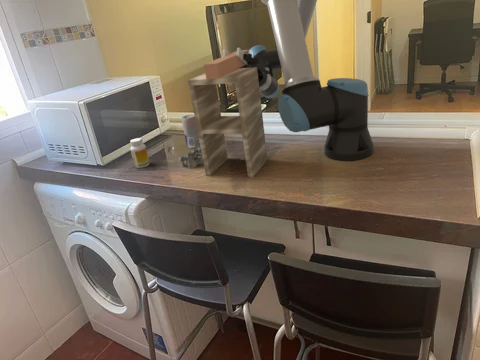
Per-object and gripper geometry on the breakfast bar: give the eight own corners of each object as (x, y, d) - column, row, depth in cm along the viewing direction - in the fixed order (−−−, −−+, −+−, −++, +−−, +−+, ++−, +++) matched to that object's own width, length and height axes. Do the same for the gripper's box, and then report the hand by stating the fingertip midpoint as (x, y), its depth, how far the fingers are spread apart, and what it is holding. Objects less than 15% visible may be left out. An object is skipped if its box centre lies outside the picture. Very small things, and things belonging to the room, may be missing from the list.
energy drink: (193, 143, 152) (187, 114, 147) (203, 144, 149) (198, 114, 144) (184, 148, 148) (178, 118, 143) (194, 149, 145) (188, 119, 140)
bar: (250, 62, 124) (248, 49, 122) (219, 78, 104) (216, 63, 103) (238, 63, 126) (237, 50, 124) (206, 79, 106) (203, 64, 104)
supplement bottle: (153, 162, 138) (146, 137, 134) (143, 168, 134) (137, 142, 130) (141, 161, 141) (134, 137, 137) (132, 167, 136) (124, 142, 132)
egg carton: (191, 170, 127) (189, 159, 126) (177, 166, 132) (175, 155, 130) (214, 158, 134) (212, 148, 132) (200, 155, 139) (198, 145, 137)
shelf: (267, 159, 126) (256, 67, 113) (252, 177, 115) (239, 77, 102) (223, 158, 132) (209, 70, 120) (205, 175, 121) (187, 80, 108)
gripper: (279, 86, 133) (256, 62, 111) (235, 88, 140) (204, 67, 118) (281, 65, 133) (258, 37, 112) (236, 68, 140) (206, 43, 118)
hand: (230, 52), depth 115 cm, fingers closed on bar, 4 cm apart
